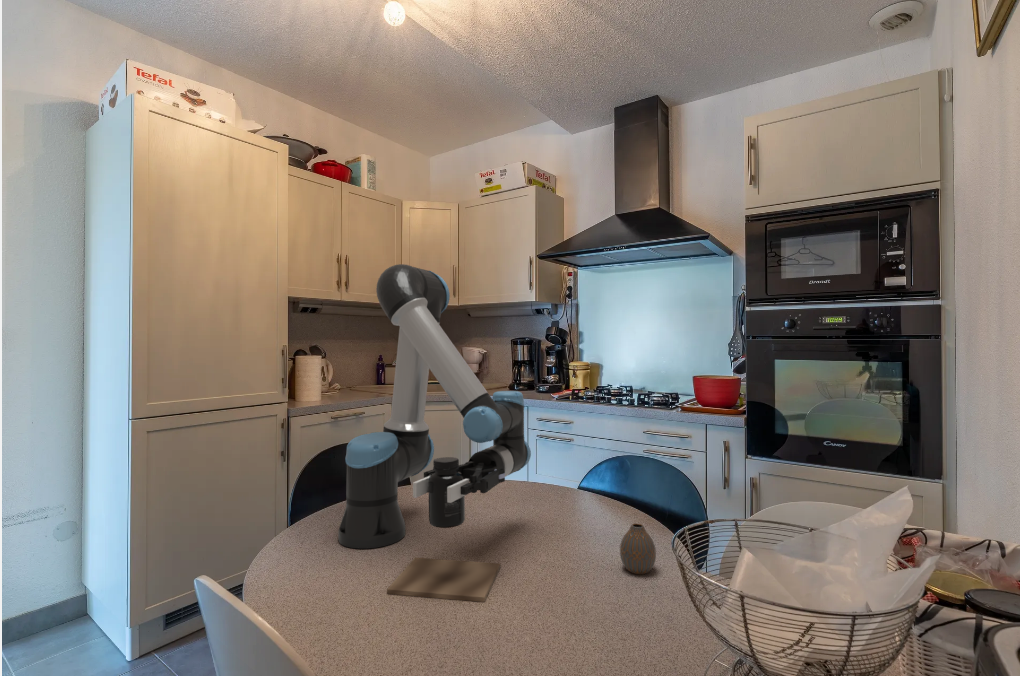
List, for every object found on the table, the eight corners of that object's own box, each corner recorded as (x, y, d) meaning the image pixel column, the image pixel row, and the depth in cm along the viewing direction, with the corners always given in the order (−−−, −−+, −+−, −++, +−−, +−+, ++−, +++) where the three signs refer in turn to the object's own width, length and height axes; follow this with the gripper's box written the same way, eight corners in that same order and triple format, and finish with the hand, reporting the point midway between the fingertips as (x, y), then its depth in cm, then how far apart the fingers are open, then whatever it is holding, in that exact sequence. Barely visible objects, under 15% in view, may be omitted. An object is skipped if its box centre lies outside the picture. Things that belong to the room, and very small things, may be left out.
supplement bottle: (467, 517, 100) (467, 455, 100) (461, 529, 93) (460, 463, 93) (433, 516, 100) (433, 455, 100) (424, 528, 93) (424, 463, 94)
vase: (657, 579, 96) (657, 532, 96) (620, 576, 97) (619, 530, 98) (654, 563, 103) (654, 520, 103) (619, 561, 104) (619, 518, 104)
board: (386, 593, 91) (386, 589, 91) (415, 561, 105) (415, 557, 105) (484, 602, 88) (484, 597, 88) (500, 567, 102) (500, 563, 102)
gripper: (531, 487, 109) (479, 521, 88) (452, 477, 117) (388, 506, 96) (530, 452, 109) (478, 477, 88) (452, 445, 117) (388, 466, 96)
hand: (431, 492), depth 92 cm, fingers closed on supplement bottle, 7 cm apart
